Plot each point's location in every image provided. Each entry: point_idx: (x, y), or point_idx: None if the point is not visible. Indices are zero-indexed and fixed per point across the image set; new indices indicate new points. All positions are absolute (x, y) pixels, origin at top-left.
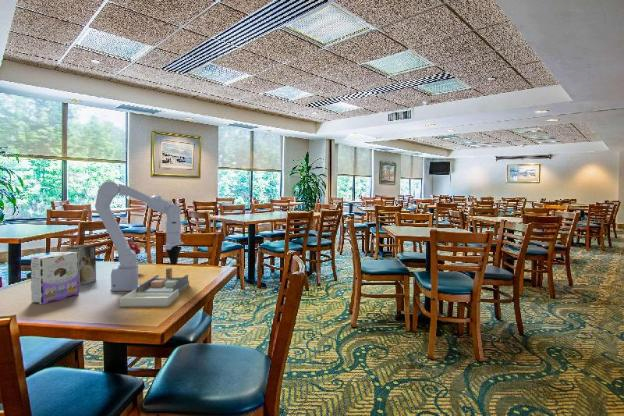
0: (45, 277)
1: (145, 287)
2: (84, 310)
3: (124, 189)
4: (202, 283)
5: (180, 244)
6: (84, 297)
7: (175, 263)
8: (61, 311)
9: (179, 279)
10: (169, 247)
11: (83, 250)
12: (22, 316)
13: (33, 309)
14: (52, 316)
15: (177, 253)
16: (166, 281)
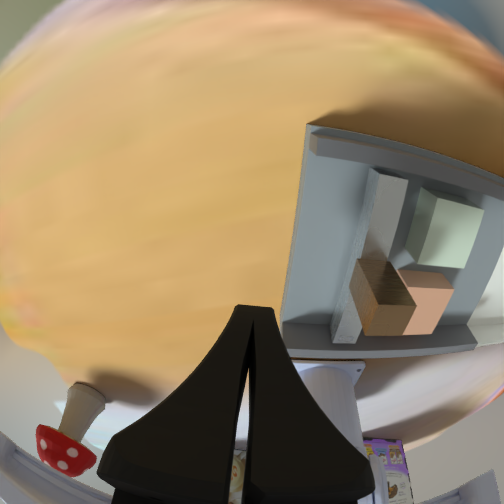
0: (406, 483)
1: (442, 330)
2: (488, 373)
3: None
4: (251, 43)
5: (1, 438)
6: (383, 421)
7: (274, 315)
8: (468, 399)
9: (399, 194)
10: (492, 493)
11: None
12: (458, 421)
13: (428, 432)
14: (487, 393)
15: (298, 411)
16: (449, 266)
